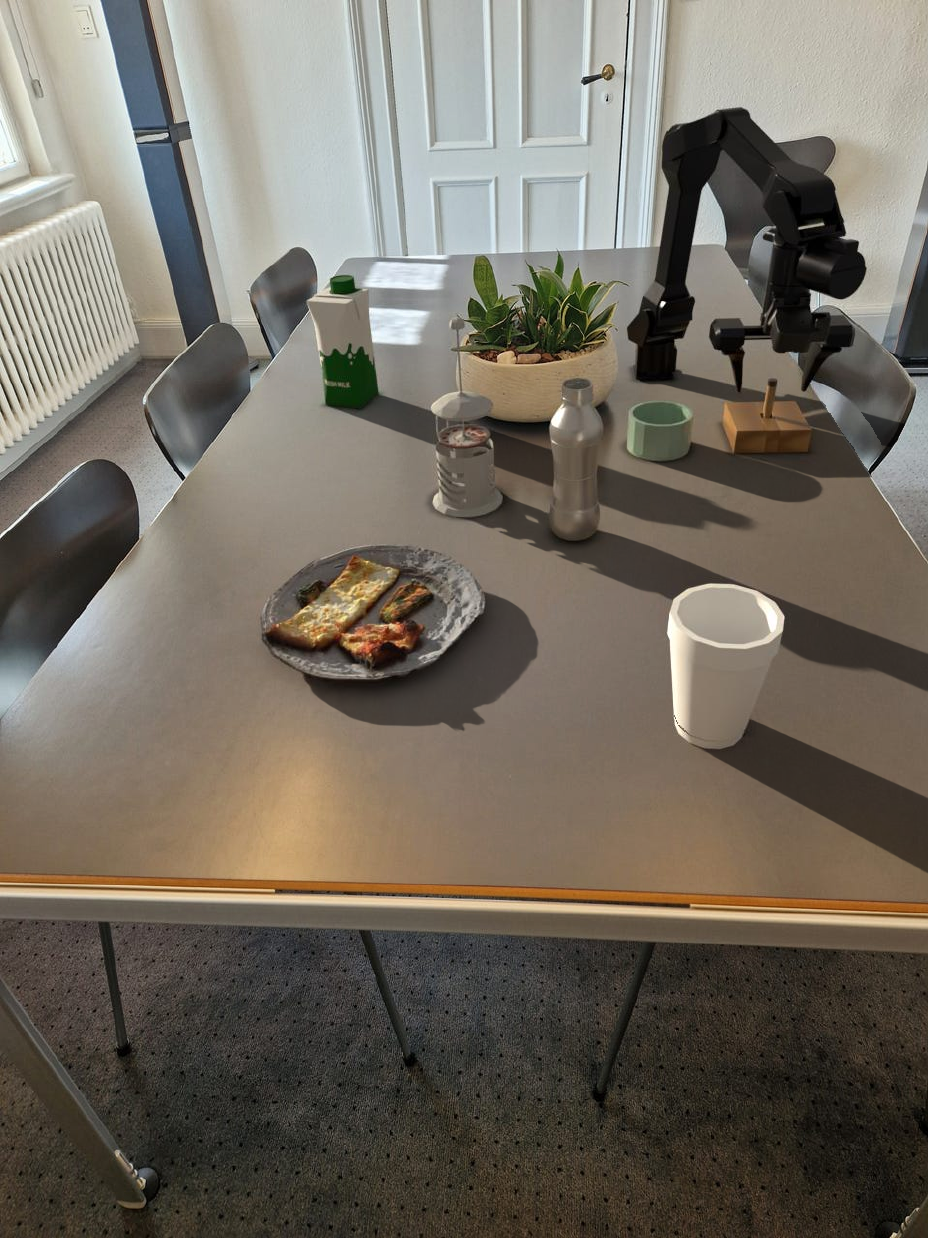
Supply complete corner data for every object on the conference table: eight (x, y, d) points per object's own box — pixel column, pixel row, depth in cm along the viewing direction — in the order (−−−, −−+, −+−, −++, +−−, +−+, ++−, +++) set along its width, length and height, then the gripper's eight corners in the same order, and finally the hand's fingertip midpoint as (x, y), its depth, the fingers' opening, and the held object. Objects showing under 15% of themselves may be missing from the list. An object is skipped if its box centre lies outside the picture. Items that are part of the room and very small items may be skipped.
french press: (452, 524, 113) (438, 336, 98) (415, 489, 121) (397, 311, 106) (515, 504, 116) (511, 319, 101) (476, 472, 125) (466, 297, 110)
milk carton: (385, 392, 152) (372, 275, 140) (362, 411, 145) (345, 291, 133) (342, 387, 155) (325, 272, 143) (317, 406, 148) (297, 288, 136)
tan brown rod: (759, 439, 128) (769, 381, 123) (758, 435, 129) (767, 378, 124) (768, 439, 128) (778, 381, 123) (766, 435, 129) (776, 377, 124)
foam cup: (647, 696, 84) (658, 588, 76) (739, 687, 84) (759, 578, 76) (674, 766, 76) (689, 654, 68) (776, 756, 77) (802, 643, 69)
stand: (733, 453, 125) (736, 430, 123) (722, 423, 133) (725, 402, 131) (807, 452, 124) (812, 429, 122) (791, 422, 132) (795, 400, 130)
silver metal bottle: (606, 525, 111) (613, 375, 99) (589, 551, 106) (595, 397, 94) (559, 517, 113) (560, 370, 101) (541, 542, 108) (540, 391, 96)
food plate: (391, 722, 83) (387, 695, 81) (220, 651, 93) (213, 626, 91) (516, 592, 99) (515, 567, 97) (359, 544, 110) (355, 521, 108)
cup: (629, 461, 125) (631, 426, 121) (624, 434, 132) (627, 401, 129) (693, 460, 124) (697, 425, 120) (685, 433, 131) (688, 399, 128)
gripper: (728, 300, 110) (713, 414, 119) (879, 296, 108) (852, 412, 117) (715, 276, 118) (702, 384, 128) (854, 271, 117) (831, 381, 126)
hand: (770, 391), depth 124 cm, fingers open, 9 cm apart
